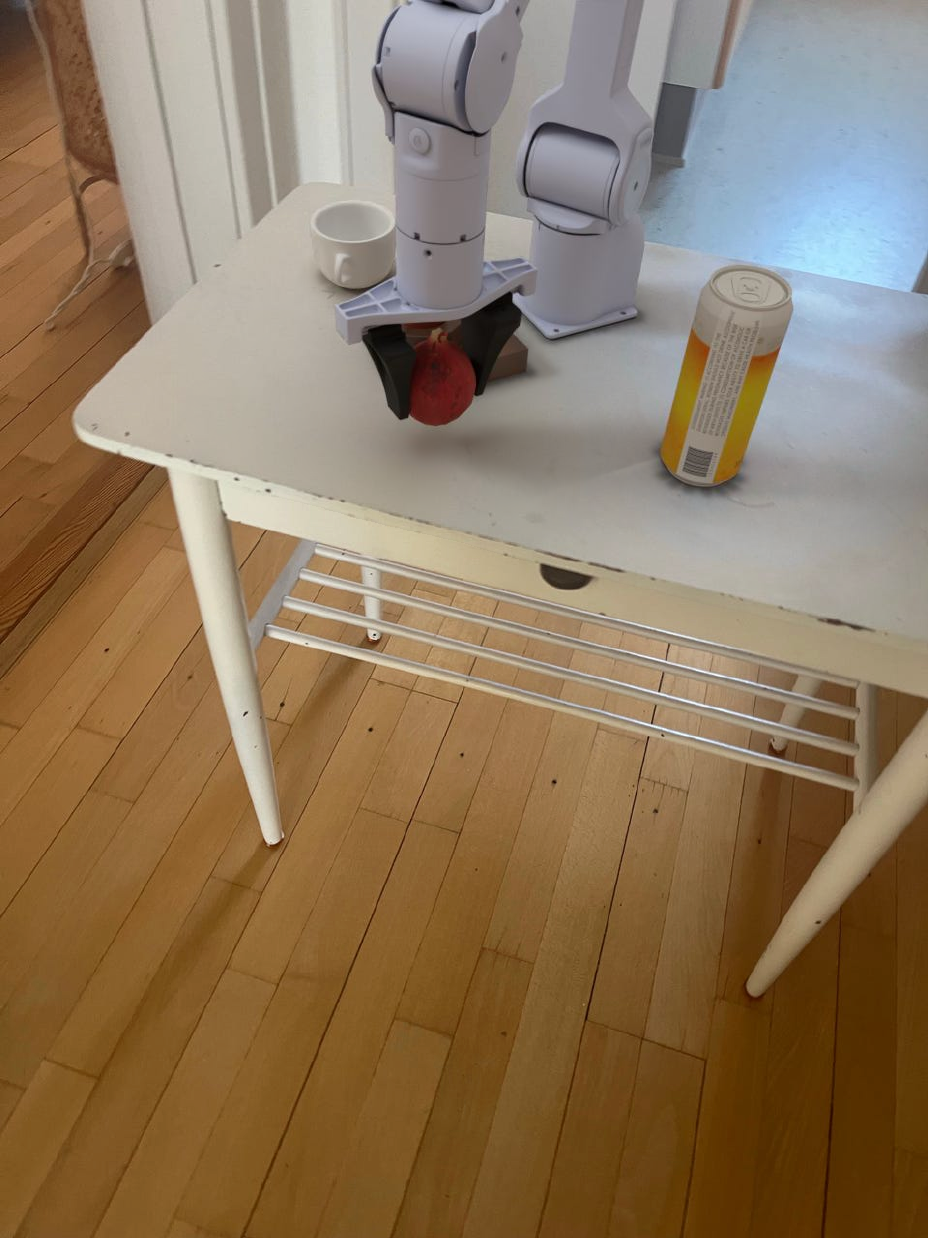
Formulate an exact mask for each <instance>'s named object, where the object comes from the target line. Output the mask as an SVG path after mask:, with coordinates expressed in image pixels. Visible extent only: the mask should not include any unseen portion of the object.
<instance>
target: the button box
mask: <svg viewBox="0 0 928 1238" xmlns="http://www.w3.org/2000/svg"><path fill="white" fill-rule="evenodd" d="M438 328H441V329H443V330H445V331H446V332H447V333H448V335H447V337H446V338H447V340H449V341H451V342H453V343H454V344H456V345H457V346H459V347H460V348H461V349H462V325H461V319H457V320H451V321H445V323H444V324H442V325H441V326H437V327H433V328H429V329H418V328H409V327H406V326H404V325H402V331H403V332H405V333H406V340H407V341H408V342H409V343H410V345H411V346H412V347H414V346H416V345H417V344H418V343H420V342H423V341H426V340H428V338H429V337H430V335H431V333H432V330H436V329H438ZM528 357H529V348H528V347H527V346H526V345H525V343H523V342H522V341H521V340H520V339H519V338H518V337H517V336H516V334H515V333H513V334H512V336H511V337H510V338H509V340H508V341H507V342H506V344H505V346H504V347H503V349H502V350H501V352H500V354H499V356H498V358H497V360H496V362H495V364H494V366H493V369H492V371H491V374H490V376H489V379H488V382H487V383H490V382H493V381H496V380H497V381H498V380H501V379H503V378H507V377H511V376H515V375H518V374H522V373H525V372H527V366H528Z"/></svg>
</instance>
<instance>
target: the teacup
mask: <svg viewBox="0 0 928 1238" xmlns="http://www.w3.org/2000/svg"><path fill="white" fill-rule="evenodd" d="M309 233H310V240H311V246H312V250H313V257H314V260H315V263H316V265H317V267H318V269H319V270H320V272H321V273H322V275H323V276H324V277H325V278H326V279H327V280H329V281H330V282H332V283H333V284H335V285H337V286H338V287H340V288H341V287H342V288H345V289H352V290H361V289H362V290H363V289H367V288H369V287H373V286H374V285H378V283H380V282H381V281H383V280H384V279H385V278H386V277H387V276H388V275H389V273H390V272H391V270H392V267H393V264H394V261H395V259H396V216H395V215H394V213H393V212H392V211H391V210H390V209H388V208H387V207H385V206H384V205H382V204H379V203H377V202H373V201H369V200H362V199H347V200H339V201H335V202H331V203H328V204H326V205H323V206H322V207H319V208H318V209H317V210H316V211H315V212H314V213H313V214H312V216H311V219H310V223H309Z"/></svg>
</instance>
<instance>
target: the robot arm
mask: <svg viewBox="0 0 928 1238" xmlns="http://www.w3.org/2000/svg"><path fill="white" fill-rule="evenodd" d="M530 2H531V0H406V4H404V3H403V4H400V5H398V6H395V8H393V9H392V10H391V11H390V12H389V14H388V15H387V16H386V18H385V20H384V21H383V23H382V26H381V28H380V31H379V34H378V37H377V43H376V47H375V55H374V63H373V65H372V66H371V68H370V69H371V70H370V73H371V82H372V87H373V92H374V95H375V97H376V100H377V102H378V103H379V104H380V106H381V108H382V111H383V115H384V116H383V117H384V135H385V136H387V140H388V142H390V143H391V145H394V178H395V179H394V189H395V191H394V192H395V193H394V194H395V199H394V200H395V202H394V203H395V220H396V252H395V263H396V264H395V265H396V266H395V267H396V270H395V272H396V275H394V276H392V277H390V278H389V279H387V280H385V281H383V282H381V283H380V284H377V285H376V286H374V287H372V288H370V289H368V290H367V291H365V292H363V293H361V294H359V295H358V296H355V297H354V298H350V299H349V300H346V301H342V302H339V303H335V304H334V305H333V306H334V307H333V308H334V318H335V331H336V332H337V333H338V334H339V336H340V337H341V339H342V340H343V341H344V342H345V343H346V344H347V345H348V346H351V345H355V344H359V343H361V342H363V344H364V346H365V348H366V350H367V351H368V354H369V355H370V357H371V359H372V362H373V363H374V366H375V368H376V371H377V373H378V376H379V379H380V382H381V384H382V387H383V391H384V395H385V399H386V403H387V407H388V409H390V411H391V412H392V413H393V415H394V416H395V417H396V418H397V419H398V420H399V421H403V420H406V419H409V417H410V415H409V413H410V380H411V373H412V368H413V364H414V361H415V358H416V355H417V353H418V352H417V351H416V350H415V349H414V348H413V347H412V346H411V345H410V343H409V342H408V341H407V340H406V333H405V332H403V331H402V324H405V323H421V322H438V321H451V320H457V319H461V325H462V350H463V351H464V352H465V353H466V354H467V355H468V357H469V358H470V361H471V363H472V366H473V369H474V372H475V376H476V388H475V393H474V397H476V398H477V397H479V396H482V395H483V394H484V392H485V389H486V386H487V384H488V383H489V382H488V379H489V376H490V374H491V371H492V369H493V366H494V364H495V362H496V360H497V358H498V356H499V354H500V352H501V350H502V349H503V347H504V346H505V344H506V342H507V341H508V340H509V338H510V337H511V336H512V334H515V332H516V331H518V329H519V328H520V327H521V323H522V316H523V315H524V316H525V317H526V318H527V319H528V320H529V321H530V322H531V323H532V324H533V325H534V326H535V327H536V328H537V330H539V331H540V332H541V333H542V334H543V335H544V336H545V337H546V338H547V339H548V340H554V339H558V338H561V337H566V336H569V335H572V334H577V333H580V332H584V331H587V330H592V329H596V328H599V327H602V326H606V325H610V324H614V323H617V322H621V321H625V320H629V319H633V318H636V317H637V316H638V312H639V311H638V310H637V308H635V306H634V304H635V297H636V292H637V288H638V283H639V277H640V272H641V267H642V262H643V257H644V251H645V241H646V240H645V230H644V225H643V221H642V218H641V217H640V215H639V212H638V210H639V208H640V206H641V205H642V202H643V200H644V197H645V195H646V192H647V189H648V185H649V181H650V177H651V172H652V171H651V170H652V149H653V141H654V136H655V131H654V128H655V123H654V120H653V119H652V117H651V116H650V115H649V113H648V112H647V110H646V109H645V108H644V107H643V106H642V104H641V103H640V102H639V100H638V99H637V98H636V97H635V96H634V95H633V93H632V91H631V90H630V88H629V86H628V85H629V80H630V75H631V70H632V65H633V59H634V55H635V50H636V45H637V40H638V34H639V29H640V26H641V25H640V24H641V20H642V14H643V9H644V5H645V0H575V2H574V3H575V4H574V11H573V16H572V22H571V29H570V36H569V42H568V49H567V54H566V62H565V66H564V67H565V68H564V74H563V80H562V82H561V83H559V84H558V85H556V86H554V87H553V88H551V89H549V90H547V91H546V92H544V93H542V94H541V95H540V96H539V97H538V98H537V99H535V101H534V102H533V103H532V104H531V106H530V108H529V112H528V116H527V122H526V126H525V129H524V133H523V136H522V138H521V140H520V143H519V145H518V148H517V149H518V150H517V153H516V158H515V165H514V178H515V183H516V187H517V189H518V192H519V193H520V195H521V197H523V198H525V199H527V201H526V211H527V212H529V213H531V214H533V216H532V217H533V219H532V230H531V237H530V247H529V257H528V259H526V257H524V256H518V257H517V256H516V257H513V258H505V259H489V260H485V259H484V258H485V244H486V243H485V242H486V241H485V240H486V228H487V227H486V226H487V225H486V224H487V209H488V208H487V207H488V193H489V192H488V191H489V178H490V177H489V176H490V175H489V174H490V161H491V158H490V157H491V146H492V145H491V143H492V129H493V127H494V126H495V125H496V124H497V122H498V121H499V119H500V117H501V115H502V114H503V111H504V110H505V108H506V106H507V104H508V102H509V99H510V97H511V93H512V89H513V85H514V80H515V74H516V67H517V62H518V61H517V60H518V56H519V52H520V50H521V49H522V47H523V46H522V45H523V44H522V41H523V38H524V32H523V31H522V27H521V22H522V19H523V18H524V15H525V13H526V10H527V8H528V6H529V4H530ZM522 314H523V315H522Z"/></svg>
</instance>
